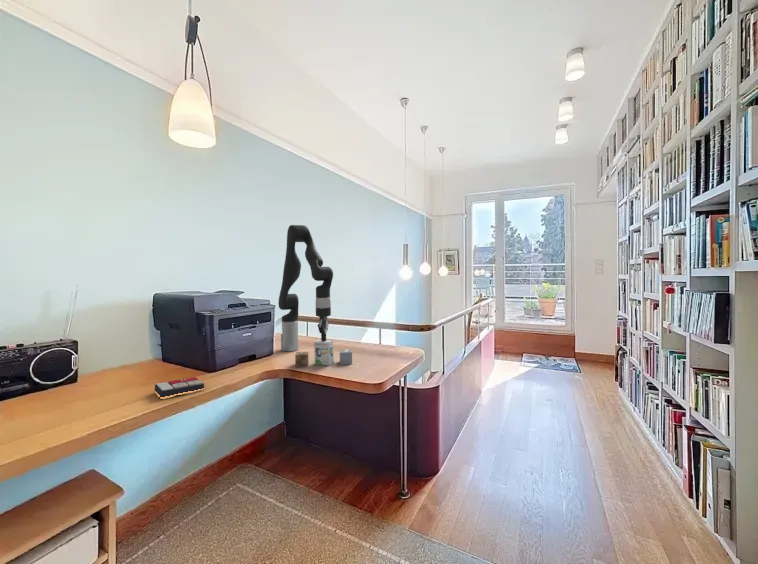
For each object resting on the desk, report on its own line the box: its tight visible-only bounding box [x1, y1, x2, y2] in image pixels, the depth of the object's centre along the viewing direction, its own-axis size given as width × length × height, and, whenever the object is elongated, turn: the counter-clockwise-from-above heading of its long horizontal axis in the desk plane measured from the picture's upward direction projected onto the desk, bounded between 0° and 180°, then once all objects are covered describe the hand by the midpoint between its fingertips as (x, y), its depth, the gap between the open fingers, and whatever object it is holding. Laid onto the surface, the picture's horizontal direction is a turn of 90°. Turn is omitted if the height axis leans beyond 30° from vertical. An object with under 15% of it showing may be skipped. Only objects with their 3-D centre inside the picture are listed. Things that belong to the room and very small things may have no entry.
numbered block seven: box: [339, 349, 353, 365], centre depth 178 cm, size 6×6×6 cm
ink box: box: [313, 339, 335, 366], centre depth 176 cm, size 9×5×12 cm, turn 73°
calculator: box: [154, 376, 205, 397], centre depth 138 cm, size 11×4×15 cm
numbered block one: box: [294, 351, 310, 368], centre depth 174 cm, size 6×6×6 cm
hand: (323, 340), depth 176 cm, fingers closed
